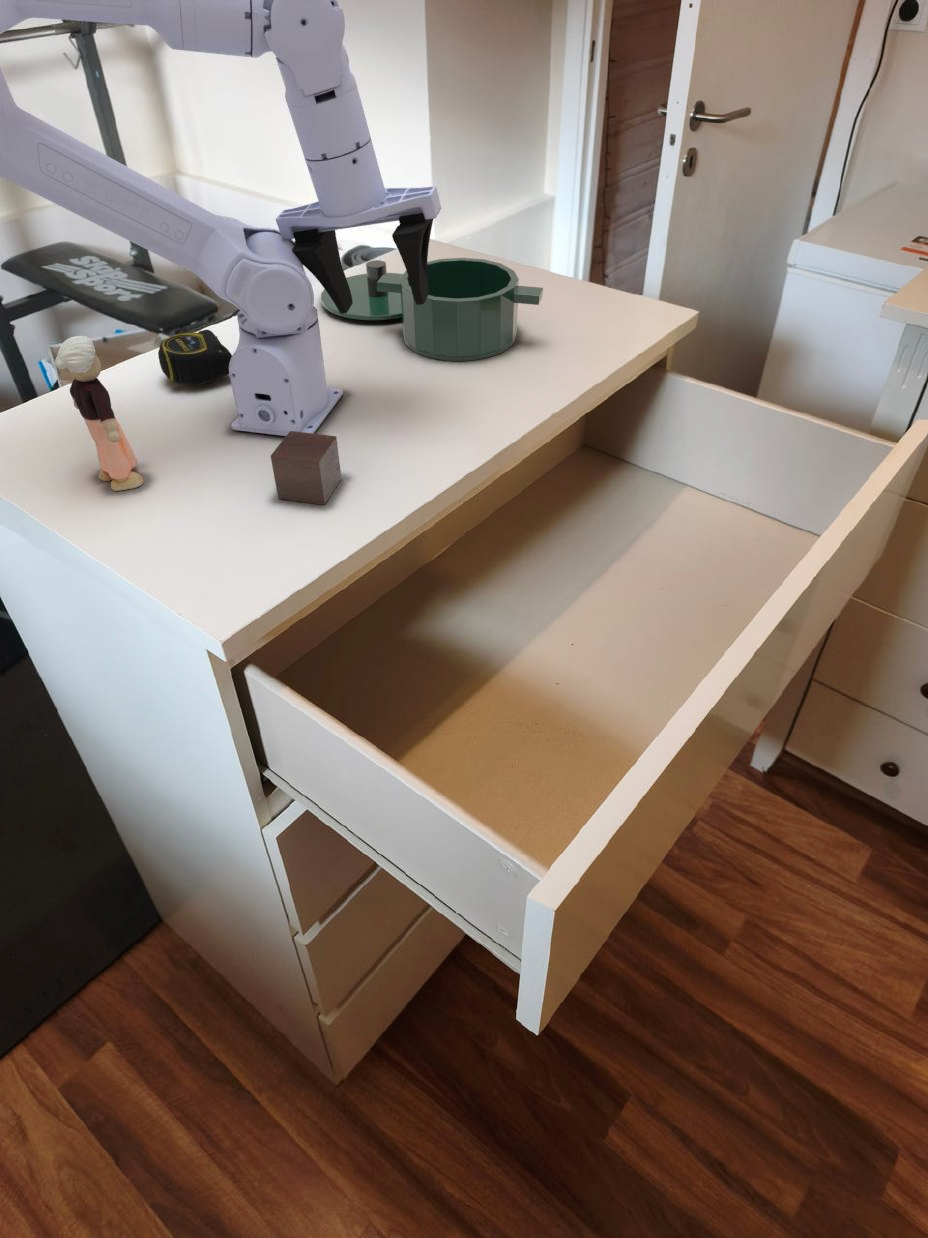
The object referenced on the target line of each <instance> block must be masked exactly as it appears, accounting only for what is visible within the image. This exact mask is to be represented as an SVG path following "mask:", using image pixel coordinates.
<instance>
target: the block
mask: <svg viewBox="0 0 928 1238" xmlns="http://www.w3.org/2000/svg"><path fill="white" fill-rule="evenodd" d="M270 461H271V466H272V472H273V477H274V482H275V489H276V495H277V498H278V500H284V501H292V502H298V503H300V502H301V503H307V504H315V505H322V506H326V503H327V502H328V501H329V499H330V498H331V496H332V495H333V493H334V491H335V490H336V488H337V486H338V485H339V484H340V482H341V480H342V471H341V464H340V463H341V462H340V455H339V447H338V438H337V435H329V434H321V433H314V434H313V433H305V432H296V431H290V432H289V433H288V434H287V435H286V436H284V438H283V439H282V440H281V442H280V443H279V444H278V445H277V447H276V448H275V449H274V450H273V452H271V454H270Z"/></svg>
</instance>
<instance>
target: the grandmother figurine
mask: <svg viewBox="0 0 928 1238" xmlns="http://www.w3.org/2000/svg"><path fill="white" fill-rule="evenodd" d="M54 366H55V368H57V369H58V370H59V371H60V370H64V369H65V370H67V372H68V374H69V375H70V376H71V378H73V380H72V381H71V384H70V387H69V394H70V397H71V398H72V401H73V406H74V407H75V409H77V410H78V411H79V414H80V415H81V417H82V419H83V420H84V423H85V425H86V427H87V429H88V433H89V435H90V437H91V439H92V440H93V441H94V443H95V444H94V445H95V449H96V453H97V457H98V458H97V459H98V462H99V466H100V469H101V470H100V471H99V473H98V479H99V480H101V481H103V482H109V481H111V482H110V488H111V490H112V491H114V492H120V491H125V490H132V489H137V488H138V487H140V486H142V485H143V484H144V483H145V480H144V478H143V476H142V474H140V473H138V472H136V471H132V469H134V468H135V467H136V466H137V464H138V460H137V459H138V458H137V457H136V455H135V453H134V451H133V448H132V446H131V444H130V443H129V440H128V438H127V436H126V435H125V433H124V430H123V429H122V427H121V425H120V423H119V421H118V420H117V418H116V416H115V412H114V410H113V408H112V401H111V396H110V394H109V391H108V390H107V388H106V387H105V386H104V385H103V384H102V382H101V381H100V380H99V378H98V377H99V376H100V374H101V371H102V362H101V360H100V358H99V356H98V354H96V347H95V344H94V342H93V341H92V339H91V338H90V337H88V336H86V335H75V336H71V337H69V338H67V339H65V340H64V341H63V342H62V343H61V345H60V347H59V349H58V351H57V356H56V357H55V360H54Z"/></svg>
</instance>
